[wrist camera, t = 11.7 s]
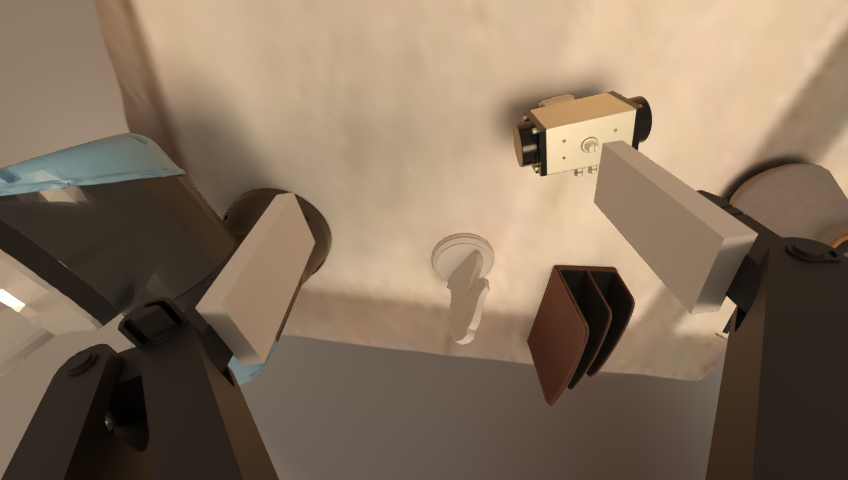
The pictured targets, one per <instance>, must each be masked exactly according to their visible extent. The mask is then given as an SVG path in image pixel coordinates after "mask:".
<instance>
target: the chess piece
mask: <svg viewBox="0 0 848 480" xmlns="http://www.w3.org/2000/svg"><path fill="white" fill-rule="evenodd" d="M493 263H494V253H493V249H492V247H491V246H490V244H489V243H488V242H487V241H486V240H485V239H483V238H481V237H480V236H477V235H474V234H468V233H461V234H455V235H451V236H449V237H447V238H445V239H443V240H442V241H441V242H439V243H438V245H437V246H436V247H435V249H434V251H433V253H432V266H433V268H434V270H435V272H436V274H437V275H438V276H439V277H440V278H442V279H443V280H445V281H447V282H448V285H447V288H449V289H450V290H451V304H450V312H449V317H448V319H449V330H450V334H451V337H452V338H453V340H455V342H457V343H459V344H461V345H463V344H467V343H470V342H471V340H473V339H474V334H475V333H474V331H475V330H476V329H477V328H478V326H479V323H480V320H481V314H482V309H483V303H484V300H485V297H486V294H487V293H488V291H489V282H488V280H487V279H485V278H484V277H485V276H486V275H487V274H488V273H489V272H490V270H491V269H492V266H493Z"/></svg>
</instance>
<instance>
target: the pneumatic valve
mask: <svg viewBox="0 0 848 480" xmlns="http://www.w3.org/2000/svg"><path fill="white" fill-rule="evenodd" d="M651 126H652V114H651V109H650V106H649V103H648V102H647V100H646V99H645V98H644V97H641V96H637V97H633V98H628V99H627V98H625V97H623V96H622V95H621V94H618V93H616V92H614V91H611V92H606V93H602V94H598V95H593V96H589V97H585V98H580V99H575V100H574V96H573V95H570V94H566V95H562V96H557V97H553V98H549V99H545V100H541V101H540V103H538V108H537V109H533V110H528V111H524V116H523V122H522V123H518V124H515V125H514V130H513V135H514V146H515V152H516V157H517V160H518V163H519V165H520V167H525V166H530V165H531V166H532V168H533V169H534V171H535V173H539V174H540V176H546V175H551V174H556V173H561V172H566V171H571V170H574V171H575V172H574V175H575V176H581V175H582V174H583V171H582V170H583V168H586V167H589V169H588V172H589V173H596V172H597V165H600V158H601V152H602V145H603V143H607V142H614V141H620V140H623V141H624V142H626V143H627V144H629V145H630V146H632V147H633V148H635V149H636V150H637V151H638V145H639V143H641V142H644V141H645V140H646V139H647V138H648V136H649V134H650V131H651Z"/></svg>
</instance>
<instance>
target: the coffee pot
mask: <svg viewBox="0 0 848 480" xmlns="http://www.w3.org/2000/svg"><path fill="white" fill-rule="evenodd" d="M729 203H730V204H732V205H733V207H736V208H738V209H739V210H741V211H742V212H744V214H747V215H748V216H750V217H751V218H753V219H754V220H756V221H757V222H759V223H761V224H762V225H764V226H765V227H767V228H768V229H770V230H771V231H773V232H774V233H776V234H777V235H779V236H780V237H782V238H783V237H798V238H807V239H811V240H815V241H819V242H822V243H824V244H827V245H829V246H831V247H834V248H835V249H837V250H838V251H840V252H841V253H843V254H844V255H845V257H848V199H847V197H846V196H845V194H844V193H843V191H842V190H841V188H840V187H839V185H838V184H837V182H836V181H835V179H834V177H833V176H832V174H831V173H830V172H829V171H828V170H827V169H825V168H823V167H821V166H819V165H814V164H807V163H796V164H786V165H782V166H779V167H775V168H772V169H769V170H767V171H764V172H761V173H759V174H757V175H754V176H752V177H751V178H749V179H748V180H746V181H745V182H744V183H743V184H741V185H740V186H739V187H738V188H737V189H736V191H735V192H734V193H733V195H732V197H731V199H730V201H729ZM715 334H716V335H717V336H719V337H721V338H723V339H725V340H726V341H728V339H726V338H724V337H722V336H721V335H719V334H717V333H715Z"/></svg>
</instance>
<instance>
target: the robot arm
mask: <svg viewBox="0 0 848 480" xmlns="http://www.w3.org/2000/svg"><path fill="white" fill-rule="evenodd" d="M185 174H186V173H185V171H184V170H183V169H180V168H178V166H177V165H176V164H175V163H174V162H173V161H172V160H171V159H170V158H169V157H168V156H167V155H166V154H165V152H164V151H163V150H162V149H161V148H160V147H159V146H158V145H157V144H156V143H155V142H154V141H153V140H151V139H149V138H148V137H145V136H143V135H139V134H134V133H125V134H119V135H115V136H111V137H107V138H103V139H99V140H95V141H92V142H88V143H84V144H81V145H78V146H74V147H70V148H67V149H63V150H60V151H56V152H53V153H50V154H46V155H43V156H39V157H36V158H33V159H29V160H26V161H23V162H20V163H17V164H15V165H11V166H7V167H4V168H1V169H0V377H1V376H2V375H3V374H5V373H6V372H8V371H9V370H10V369H12V368H13V367H14V366H16V365H17V364H18V363H20V362H21V361H22V360H24V359H25V358H27V357H28V356H29V355H31V354H32V353H33V352H35V351H36V350H38V349H39V348H40V347H42V346H43V345H44V344H46V343H47V342H48V341H50V340H51V339H53V338H54V337H55V336H57V335H60V334H63V333H66V332H76V331H87V330H98V329H100V328H101V327H103V326H104V325H106V324H107V323H108V322H109V321H111V320H112V319H113V318H115V317H116V316H117V315H118V314H120V313H121V314H122V315H124V316H125V317H124V318H123V320H122V321H121V322H120V324H119V327H118V330H119V331H120V332H121V333H122V334H123V335H124V336H125V337H126V338H127V339H129V340H130V341H131V342H132V344H131V346H130V349H128V350H125V351H122V352H120V353H117V352H116V351H115V350H113V349H112V348H111V347H110V346H109V345H107V344H98V345H95V346H92V347H89V348H87V349H85V350H83V351H80V352H78V353H77V354H75V356H72V357H71V358H69V359H68V360H67V362H65V363H64V364H63V366H61V367H60V368H59V369H58V371H57V372H56V374H55V375H54V377H53V378H52V380H51V382H50V385H49V386H48V388H47V390H46V392H45V394H44V396H43V398H42V400H41V402H40V404H39V406H38V408H37V410H36V412H35V414H34V416H33V418H32V420H31V422H30V424H29V426H28V428H27V430H26V432H25V434H24V436H23V438H22V440H21V442H20V443H19V446H18V448H17V449H16V451H15V453H14V455H13V457H12V459H11V461H10V463H9V465H8V467H7V469H6V471H5V473H4V475H3V477H2V479H1V480H279V479H278V476H277V474H276V471H275V469H274V467H273V464H272V462H271V460H270V457H269V455H268V452H267V450H266V448H265V445H264V443H263V441H262V439H261V436H260V434H259V431H258V429H257V427H256V424H255V422H254V420H253V417H252V415H251V413H250V411H249V408H248V406H247V403H246V401H245V399H244V396H243V394H242V392H241V389H240V387H239V385H241V384H244V383H246V382H248V381H250V380H252V379H253V378H255V377H256V376H257V375H258V374H259V373H260V372H261V371H262V370H263V368H264V367H265V364H266V362H267V361H268V359H269V357H270V355H271V353H272V352H273V351H274V350H275V348H276V346H277V343H278V340H279V338H280V335H281V333H282V331H283V328H284V326H285V323H286V321H287V319H288V316H289V314H290V311H291V309H292V307H293V304H294V302H295V299H296V297H297V295H298V292H299V290H300V288H301V285H303V284H304V283H305V282H306V281H307V280H308V279H309V278H310V276H311V275H312V274H314V273H315V272H317V271H318V270H319V269H320V268H321V267H322V265H323V264H324V262H325V260H326V258H327V256H328V253H329V251H330V248H331V233H330V229H329V227H328V225H327V223H326V221H325V219H324V218H323V216H322V215H321V214H320V213H319V212H318V210H317V209H315V208H314V207H313V206H312V205H311V204H310V203H308V202H307V201H305V200H304V199H302V198H300V197H298V196H296V195H294V192H292V193H289V192H285V191H281V190H276V189H258V190H253V191H250V192H247V193H245V194H243V195H242V196H240V197H239V198H238V199H237V200H236V201H235V202H234V203H233V204H232V205H231V206H230V207H229V208H228V210H227V211H226V213H225V215H224V217H223V220H221V218H220V217H219V216H218V215H217V214H216V212H215V211H214V210H213V209H212V208H211V206H210V205H209V204H208V203H207V201H206V200H205V199H204V198H203V196H202V195H201V194H200V193H199V191H198V190H197V189H196V188H195V186H194V185H193V184H192V183H191V181H190V180H189V179H188V178H187V177H186V175H185ZM594 203H595V204H596V205H597V206H598V208H599V209H600V210H601V211H602V212H603V213H604V214H605V216H606V217H607V218H608V219H609V220H610V221H611V223H612V224H613V225H614V226H615V227H616V228H617V230H618V231H619V232H620V233H621V234H622V235H623V236H624V238H625V239H626V240H627V241H628V242H629V243H630V245H631V246H632V247H633V248H634V249H635V250H636V251H637V253H638V254H639V255H640V256H641V257H642V258H643V260H644V261H645V262H646V263H647V264H648V265H649V266H650V268H651V269H652V270H653V271H654V272H655V273H656V275H657V276H658V277H659V278H660V279H661V280H662V282H663V283H664V284H665V285H666V286H667V287H668V288H669V290H670V291H671V292H672V293H673V294H674V295H675V297H676V298H677V299H678V300H679V301H680V302H681V303H682V305H683V306H684V307H685V308H686V309H687V310H688V312H689V313H690V314H696V313H705V312H714V311H719V309H720V307H721V305H722V303H723V301H724V299H725V297H726V296H728V297H729V298H730V299H731V300H732V301H733V302H734V303H735V304H736V305H737V306H736V308H735V310H734V312H733V314H732V315H731V317H730V319H729V321H728V323H727V325H726V326H725V328H724V330H723V333H726V334H728V332H729V336H728V342H727V349H726V355H725V361H724V367H723V374H722V380H721V386H720V392H719V399H718V405H717V411H716V417H715V423H714V429H713V436H712V442H711V448H710V454H709V461H708V467H707V473H706V480H848V257H845V255H844V254H843V253H841V252H840V251H838V250H837V249H835V248H834V247H831V246H829V245H827V244H824V243H822V242H819V241H815V240H811V239H807V238H798V237H783V238H782V237H780V236H779V235H777V234H776V233H774V232H773V231H771V230H770V229H768V228H767V227H765V226H764V225H762V224H761V223H759V222H757V221H756V220H754V219H753V218H751V217H750V216H748V215H747V214H744V212H742V211H741V210H739V209H738V208H736V207H733V205H732V204H730V203H728V202H727V201H725V200H724V199H722V198H721V197H719V196H716V195H714V194H711V193H708V192H705V191H703V190H699V191H695V190H694V189H692V188H691V187H690V186H688V185H687V184H685V183H684V182H682V181H681V180H679V179H678V178H677V177H675V176H674V175H672V174H671V173H669V172H668V171H666V170H665V169H663V168H662V167H661V166H659V165H658V164H656V163H655V162H653V161H652V160H650V159H649V158H648V157H646V156H645V155H643V154H642V153H640V152H639V151H637V150H636V149H635V148H633V147H632V146H630V145H629V144H627V143H626V142H624V141H623V140H620V141H614V142H607V143H603V145H602V152H601V158H600V165H599V171H598V178H597V184H596V191H595V198H594ZM105 421H107V422H108V424H107V426H106V423H105Z"/></svg>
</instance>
